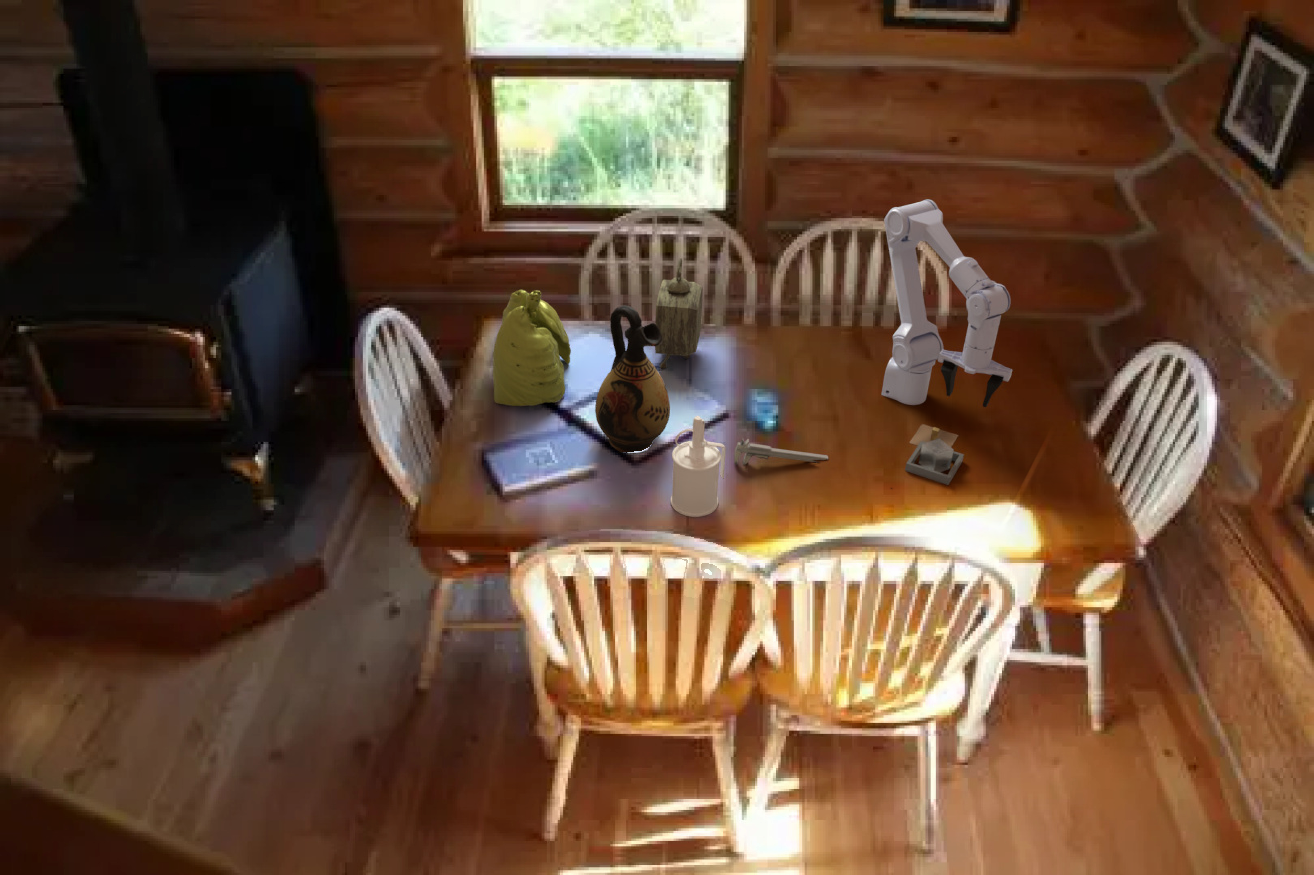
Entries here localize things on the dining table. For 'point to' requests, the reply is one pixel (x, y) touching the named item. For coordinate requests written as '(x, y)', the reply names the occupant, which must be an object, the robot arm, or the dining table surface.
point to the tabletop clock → (678, 316)
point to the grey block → (936, 455)
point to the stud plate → (933, 435)
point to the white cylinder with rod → (696, 473)
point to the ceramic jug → (632, 387)
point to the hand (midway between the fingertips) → (967, 399)
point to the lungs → (529, 352)
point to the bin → (931, 473)
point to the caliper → (771, 453)
